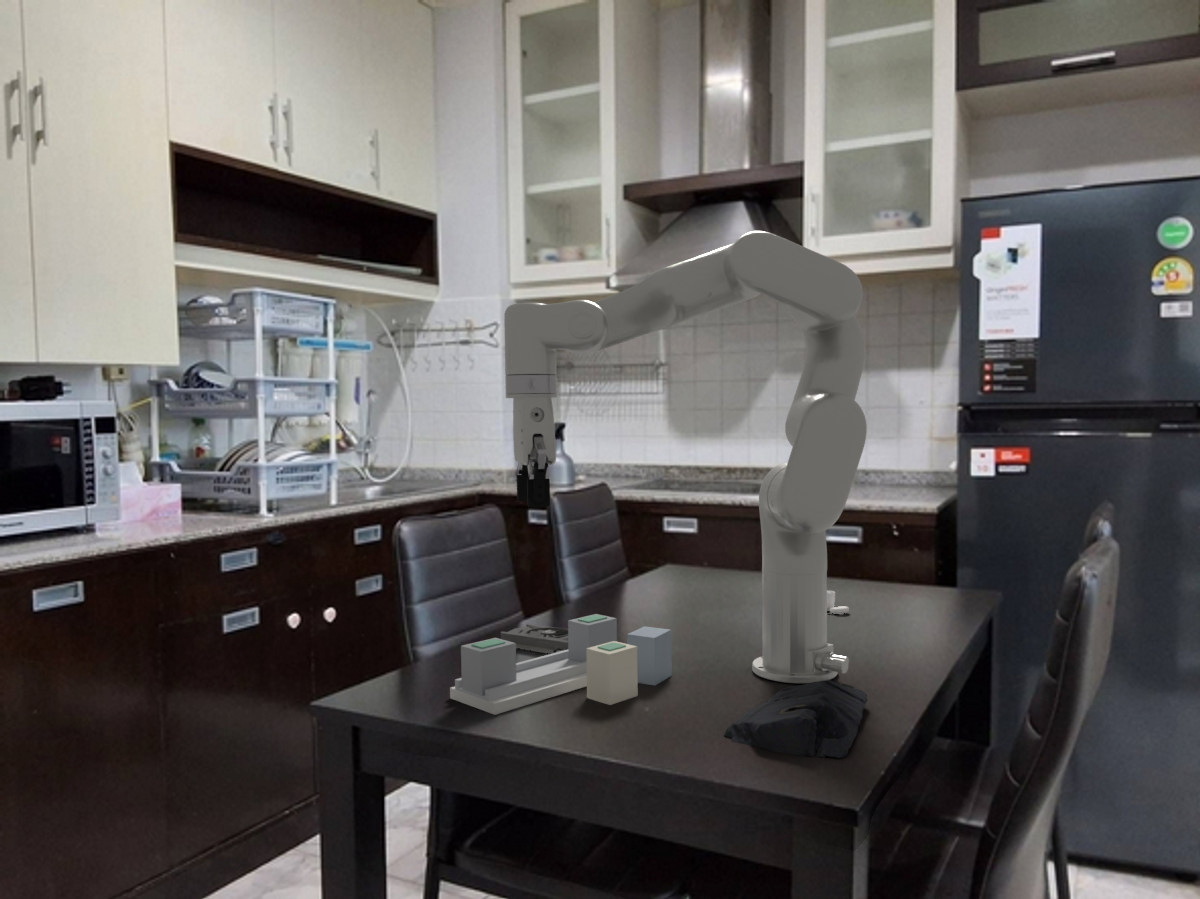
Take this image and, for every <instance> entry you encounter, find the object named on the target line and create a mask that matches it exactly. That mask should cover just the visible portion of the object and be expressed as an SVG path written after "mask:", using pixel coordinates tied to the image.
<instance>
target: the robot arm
mask: <svg viewBox="0 0 1200 899" xmlns="http://www.w3.org/2000/svg"><path fill="white" fill-rule="evenodd" d="M758 296H764V297H766V298H769V299H770V300H773V301H774V302H777V303H779V304H782V305H784V306H787V309H788V314H789V316H790V318H791V319H792V321H794V323H795V324H796V325H797V326H798V328H800V330H801V332H802V333H803V334H802V335H803V336H804V339H805V343H806V353H805V359H804V363H803V367H802V372H801V375H800V377H799V382H798V385H797V387H796V391H795V394H794V396H793V400H792V402H791V404H790V408H789V411H788V413H787V417H786V420H785V427H784V428H785V430H784V432H785V436H786V439H787V441H788V443H789V444H790V445H791V447H792V448H791V451H790V454H789V456H788V457H789V458H788V460H787V462H784V463H781V464H778V465H776V466H775V467H773V468H772V469H770V471H768V472H767V474H766V475H765V476H764V478H763V479H762V482H761V484H760V488H759V493H758V508H759V510H758V511H759V521H760V530H761V531H760V533H761V554H762V555H761V556H762V560H761V561H762V562H761V563H762V566H761V574H762V575H761V585H762V586H761V587H762V588H761V591H762V592H761V598H762V600H761V603H762V604H761V607H762V612H761V615H762V616H761V620H762V623H761V624H762V626H761V627H762V631H761V632H762V634H761V636H762V643H761V645H762V654H761V655H762V656H759V657H756V658H755V659H754V660H752V662H751V663H752V664H751V670H752V671H753V673H754V674H755V675H756V676H758V677H761V678H763V679H766V680H769V681H774V682H780V683H789V684H808V683H812V682H818V681H824V680H830V681H831V680H832V679H835V677H837V675H838V673H840V674H846V673H847V672H848V670H849V663H850V658H849V657H848V656H844V655H838V654H835V652H834V644H833V643H828V639H827V638H828V633H827V632H828V629H827V628H828V626H827V625H828V624H827V623H828V622H827V620H828V619H827V618H828V615H827V614H828V613H827V590H828V586H827V584H828V582H827V581H828V580H827V578H828V577H827V576H828V574H827V573H828V572H827V571H828V548H827V537H826V530H829V529H831V527H832V526H834V524H835V523H836V522H837V521H838V520H839V518H840V517H841V514H842V513H843V511H844V509H845V506H846V504H847V501H848V499H849V495H850V492H851V489H852V486H853V483H854V480H855V478H856V474H857V470H858V467H859V465H860V464H859V463H860V461H861V457H862V456H863V451H864V449H865V448H864V447H865V444H866V439H867V429H868V428H867V427H868V426H867V420H866V419H867V418H866V416H865V413H864V410H863V409H862V408H861V406H860V405H859V403H858V402H857V401H856V400H855V399H856V396H857V393H858V389H859V386H860V381H861V378H862V374H863V370H864V366H865V360H866V342H865V337H864V334H863V330H862V327H861V325H860V323H859V320H858V318H857V315H856V313H857V312H858V310H859V309H860V307H861V305H862V303H863V302H862V301H863V297H864V291H863V285H862V282H861V280H860V278H859V277H858V275H857V274H856V273H855V271H854V270H852V269H851V268H850V267H848V266H847V265H845V264H843V263H842V262H840V261H838V260H836V259H833V258H831V257H829V256H826V255H824V254H821V253H819V252H817V251H814V250H812V249H810V248H807V247H805V246H803V245H800V244H798V243H795V242H794V241H791V240H789V239H787V238H784V237H782V236H780V235H777V234H775V233H772V232H768V231H763V230H753V231H749V232H747V233H745V234H743V235H741V236H740V237H738V238H737V239H736V241H735V242H733V243H731V244H728V245H725V246H723V247H719V248H717V249H715V250H712V251H710V252H706V253H703V254H700V255H698V256H695V257H692V258H689V259H686V260H683V261H680V262H677V263H674V264H671V265H668V266H665V267H662V268H661V269H659V270H657V271H654V272H653V273H652V274H650V275H649V276H647V277H646V278H644V279H643V280H641V281H640V282H638V283H636V284H635V285H632V286H631V287H628V288H627V289H624V290H622V291H620V292H618V293H615V294H612V295H609V296H607V297H603V298H601V299H599V300H595V301H590V300H587V299H577V300H576V299H575V300H569V301H564V302H556V303H555V302H554V303H542V302H520V303H519V302H517V303H513V304H510V305H509V306H507V307H506V309H505V311H504V319H503V320H504V321H503V322H504V323H503V324H504V365H505V366H504V368H505V369H504V370H505V373H504V374H505V399H512V400H513V401H512V402H513V403H512V408H513V409H512V414H513V415H512V417H513V418H512V427H513V428H512V430H513V431H512V432H513V434H512V436H513V455H514V460H515V462H516V463H517V469H516V470H517V471H516V473H517V474H516V499H517V501H518V502H527V507H528V508H531V509H532V508H535V509H536V508H549V507H550V506H551V486H550V485H551V481H550V480H551V479H550V470H549V466H551V465H552V466H553V465H554V464H555V463H556V462H557V453H556V452H557V451H556V436H555V434H556V432H555V431H556V430H555V417H554V406H553V400H552V399H553V398H558V397H557V393H558V391H557V387H558V386H557V384H558V382H557V350H565V351H568V352H569V353H571V354H573V355H576V356H587V355H590V354H591V355H592V354H594V353H597V352H600V351H602V350H605V349H609V348H612V347H615V346H617V345H620V344H622V343H625V342H628V341H631V340H634V339H637V338H640V337H642V336H645V335H648V334H650V333H654V332H658V331H662V330H667V329H669V328H670V329H671V328H673V327H674V326H675V327H676V326H678V325H680V324H683V323H686V322H689V321H691V320H694V319H697V318H700V317H703V316H705V315H709V314H711V313H713V312H717V311H719V310H722V309H725V308H728V307H729V308H730V307H732V306H735V305H737V304H740V303H744V302H745V301H748V300H752V299H754V298H757V297H758Z"/></svg>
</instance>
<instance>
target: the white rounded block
mask: <svg viewBox="0 0 1200 899" xmlns="http://www.w3.org/2000/svg"><path fill="white" fill-rule="evenodd" d="M835 601H836V592H835V591H834V590H828V589H827V610H829V611H830V612H829V614H832V613H833V614H840V615H845V614H848V613H849V611H850V608H849V607H848V606H843V605H842V606H841V605H840V606H839V605H838V607H834V606H835V603H836V602H835ZM844 613H845V614H844Z"/></svg>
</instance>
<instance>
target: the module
mask: <svg viewBox="0 0 1200 899" xmlns="http://www.w3.org/2000/svg"><path fill="white" fill-rule="evenodd" d="M626 644H629V645H633V646H637V673H638V684H642V685H643V684H644V685H649V686H657V685H658V684H660V683H661V682H664V681H665V680H667V679H668V678H670V677H672V676H673V675H672V674H673V673H672V672H673V671H672V668H673V667H672V665H673V664H672V663H673V662H672V660H673V659H672V629H669V628H660V627H653V626H641V627H639V628H638V629H636V630H633V631H631V632H629V633H627V643H626Z"/></svg>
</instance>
